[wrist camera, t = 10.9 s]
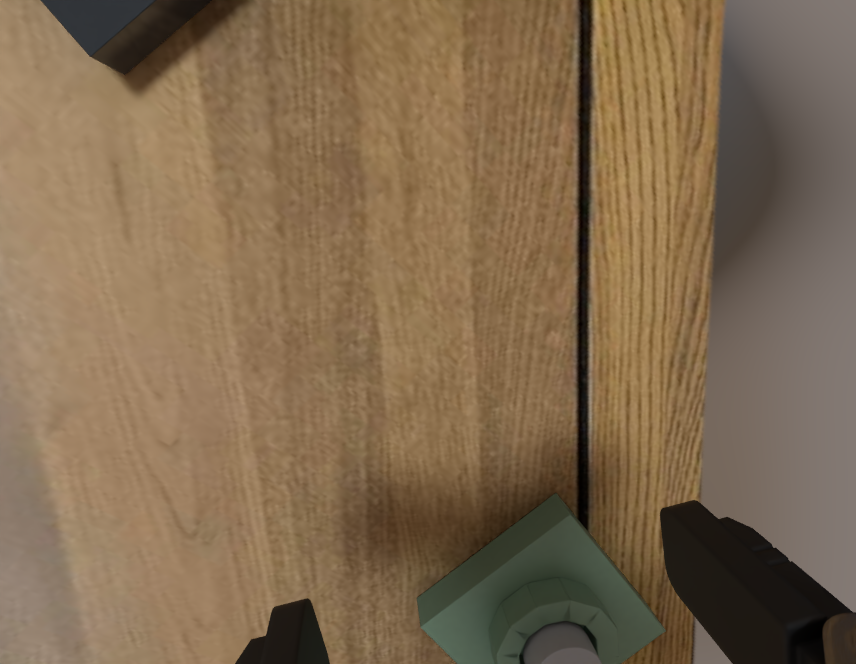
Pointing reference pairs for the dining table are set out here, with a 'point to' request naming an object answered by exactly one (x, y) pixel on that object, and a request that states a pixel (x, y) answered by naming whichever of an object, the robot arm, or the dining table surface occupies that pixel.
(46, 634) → the dining table surface
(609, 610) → the button block
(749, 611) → the robot arm
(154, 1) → the lever base
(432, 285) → the dining table surface
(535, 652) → the button
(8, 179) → the dining table surface
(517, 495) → the dining table surface
